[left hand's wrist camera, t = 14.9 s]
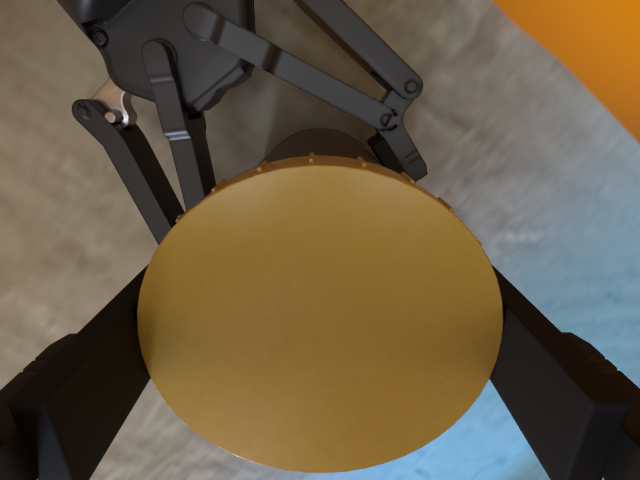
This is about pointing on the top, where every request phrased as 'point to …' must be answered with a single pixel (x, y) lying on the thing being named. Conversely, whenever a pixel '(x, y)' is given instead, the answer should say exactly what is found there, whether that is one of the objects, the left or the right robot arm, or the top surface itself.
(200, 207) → the lid
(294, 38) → the top surface
